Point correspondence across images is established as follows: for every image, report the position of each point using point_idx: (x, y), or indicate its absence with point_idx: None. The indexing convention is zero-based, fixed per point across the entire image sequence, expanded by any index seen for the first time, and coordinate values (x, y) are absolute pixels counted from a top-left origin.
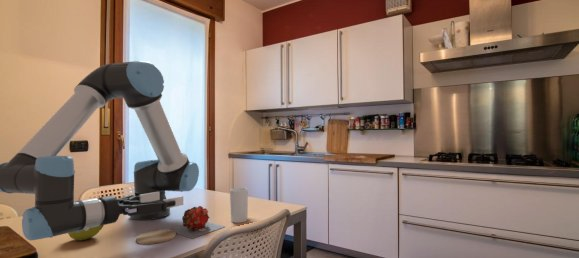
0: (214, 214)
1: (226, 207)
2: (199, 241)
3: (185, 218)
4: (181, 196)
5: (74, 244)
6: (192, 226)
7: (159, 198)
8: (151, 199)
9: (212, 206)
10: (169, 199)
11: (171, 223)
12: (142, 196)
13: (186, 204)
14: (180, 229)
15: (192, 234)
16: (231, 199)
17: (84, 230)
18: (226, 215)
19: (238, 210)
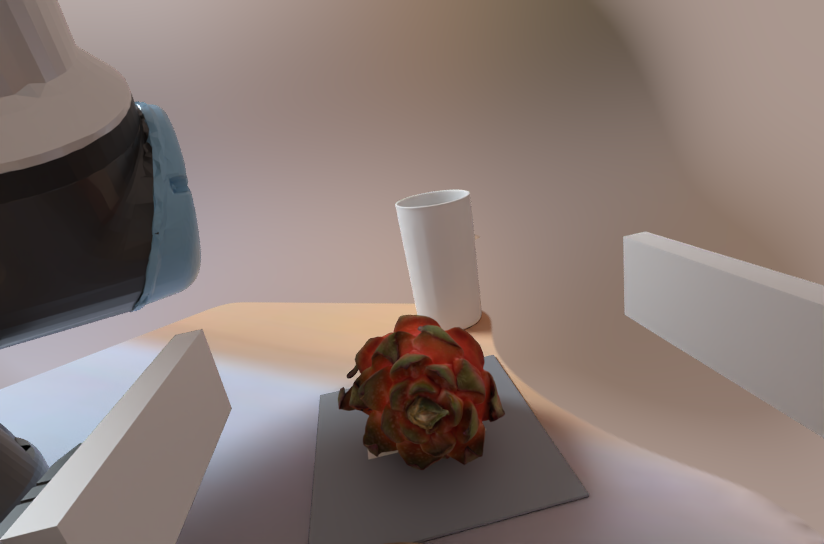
0: (300, 350)
1: (271, 315)
2: (663, 479)
3: (435, 419)
4: (649, 236)
5: None
6: (479, 436)
7: (225, 396)
8: (193, 458)
9: (206, 337)
10: (801, 284)
11: (202, 510)
12: (95, 519)
13: (52, 387)
14: (369, 501)
15: (515, 474)
16: (438, 244)
17: None
18: (355, 330)
19: (472, 277)
